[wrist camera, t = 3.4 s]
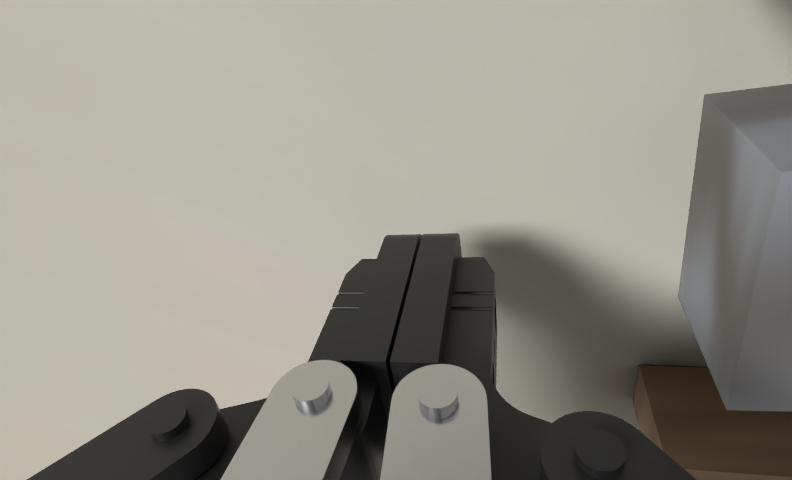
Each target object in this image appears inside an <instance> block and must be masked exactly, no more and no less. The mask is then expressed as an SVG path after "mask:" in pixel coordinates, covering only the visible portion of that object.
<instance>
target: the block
mask: <svg viewBox="0 0 792 480" xmlns="http://www.w3.org/2000/svg"><path fill="white" fill-rule="evenodd" d="M678 298H679V300H680V302H681V305H682V307H683V309H684V312H685V314H686V316H687V319H688V321H689V323H690V326H691V328H692V330H693V333H694V335H695V337H696V340H697V342H698V345H699V347H700V349H701V352H702V354H703V356H704V359H705V361H706V363H707V366H708V368H709V370H710V373H711V375H712V377H713V380H714V382H715V384H716V387H717V389H718V391H719V394H720V396H721V398H722V401H723V403H724V405H725V408H726V410H740V411H787V412H792V84H787V85H779V86H771V87H763V88H755V89H747V90H738V91H730V92H722V93H714V94H706V95H704V102H703V109H702V117H701V125H700V132H699V140H698V148H697V155H696V163H695V171H694V178H693V186H692V194H691V201H690V209H689V217H688V224H687V232H686V240H685V247H684V255H683V263H682V270H681V278H680V286H679V293H678Z"/></svg>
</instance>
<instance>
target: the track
mask: <svg viewBox="0 0 792 480" xmlns="http://www.w3.org/2000/svg"><path fill="white" fill-rule="evenodd" d="M633 403H634V407H635V411H636V415H637V419H638V423H639V427H640V431H641V433H642V434H644V435H645V436H646V437H647V438H648V439H650V440H651V441H652V442H653V443H654V444H655V445H657V446H658V447H659V448H660V449H661V450H662V451H664V452H665V453H666V454H667V455H668V456H669V457H671V458H672V459H673V460H674V461H675V462H676V463H678V464H679V465H680V466H681V467H682V468H683V469H685V470H686V471H687V472H688V473H689V474H691V475H692V476H693V477H694V478H695V479H696V480H792V412H787V411H740V410H726V408H725V405H724V403H723V401H722V398H721V396H720V394H719V391H718V389H717V387H716V384H715V382H714V380H713V377H712V375H711V373H710V370H709V368H704V367H673V366H642V365H639V369H638V375H637V381H636V387H635V393H634V400H633Z"/></svg>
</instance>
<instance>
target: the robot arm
mask: <svg viewBox="0 0 792 480" xmlns="http://www.w3.org/2000/svg"><path fill="white" fill-rule="evenodd" d="M496 359H497V318H496V298H495V278H494V272H493V270H492V269H491V267H490V266H489V264H488V263H487V261H486V259H485V258H484V257H472V258H462V256H461V245H460V237H459V234H458V233H452V234H423V235H421V234H418V235H387V236H385V238H384V241H383V243H382V246H381V249H380V252H379V254H378V257H377V259H362V260H361V261H360V262H359V263H357V264H356V265H355V266H354V267H353V268H352V269H351V270H350V271H349V272H348V273H347V274H346V276H345V278H344V280H343V283H342V285H341V287H340V290H339V295H337V296H336V299H335V301H334V303H333V309H332V310H330V313H329V315H328V317H327V320H326V322H325V324H324V326H323V329H322V331H321V333H320V336H319V338H318V340H317V343H316V345H315V347H314V350H313V352H312V354H311V356H310V359H309V361H308V362H307V363H304V364H302V365H299V366H297V367H295V368H293V369H292V370H290V371H289V372H287V373H286V374H285V375H284V376H283V377H281V378H280V380H279V381H278V382H277V383H276V384H275V386H274V387H273V389H272V390H271V392H270V394H269V396H268V397H267V398H265V399H262V400H258V401H254V402H250V403H246V404H241V405H237V406H233V407H228V408H224V409H220V410H219V408H218V406H217V404H216V402H215V400H214V398H213V397H212V396H211V395H210V394H209V393H207V392H205V391H203V390H199V389H184V390H179V391H175V392H172V393H170V394H167V395H165V396H163V397H161V398H159V399H157V400H156V401H154V402H152V403H151V404H149V405H147V406H146V407H144V408H143V409H141V410H139V411H138V412H136V413H134V414H133V415H131V416H130V417H128V418H126V419H125V420H123V421H121V422H120V423H118V424H117V425H115V426H113V427H112V428H110V429H108V430H107V431H105V432H104V433H102V434H100V435H99V436H97V437H95V438H94V439H92V440H91V441H89V442H87V443H86V444H84V445H82V446H81V447H79V448H78V449H76V450H74V451H73V452H71V453H69V454H68V455H66V456H65V457H63V458H61V459H60V460H58V461H56V462H55V463H53V464H52V465H50V466H48V467H47V468H45V469H43V470H42V471H40V472H39V473H37V474H35V475H34V476H32V477H31V478H29V479H27V480H696V479H695V478H694V477H693V476H692V475H691V474H689V473H688V472H687V471H686V470H685V469H683V468H682V467H681V466H680V465H679V464H678V463H676V462H675V461H674V460H673V459H672V458H671V457H669V456H668V455H667V454H666V453H665V452H664V451H662V450H661V449H660V448H659V447H658V446H657V445H655V444H654V443H653V442H652V441H651V440H650V439H648V438H647V437H646V436H645V435H644V434H642V433H641V432H640V431H639V430H638V429H636V428H635V427H634V426H632V425H631V424H629V423H627V422H625V421H624V420H622V419H620V418H617V417H615V416H612V415H609V414H605V413H600V412H593V411H582V412H575V413H571V414H568V415H565V416H563V417H561V418H559V419H557V420H556V421H555V422H553V423H550V422H547V421H544V420H541V419H538V418H535V417H533V416H530V415H527V414H525V413H523V412H521V411H519V410H517V409H515V408H514V407H512V406H511V405H510V404H508V403H507V402H506V401H505V400H504V399H503V398H502V397H501V396H500V394H499V393H498V391H497V390H496Z"/></svg>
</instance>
